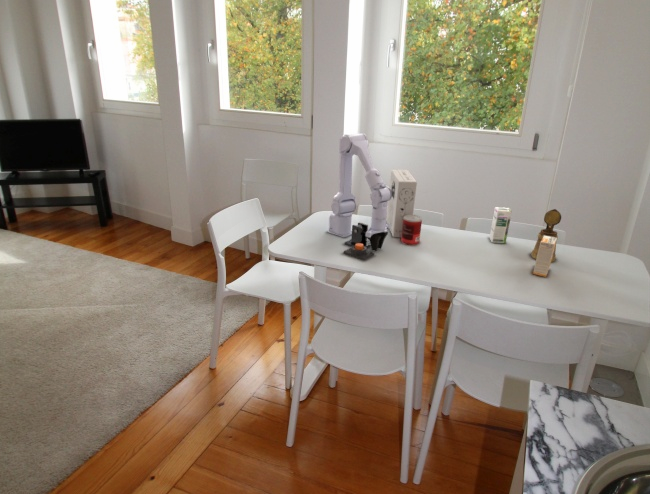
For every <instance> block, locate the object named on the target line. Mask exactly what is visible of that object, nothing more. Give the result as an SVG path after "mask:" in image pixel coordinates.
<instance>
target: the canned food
mask: <svg viewBox="0 0 650 494" xmlns="http://www.w3.org/2000/svg"><path fill="white" fill-rule="evenodd" d="M422 222H423V218H422V216H420V215H417V214H413V215H405V216H404V218H403V227H402V236H401V237H400V241H401V243H402V244H404V245H408V246H415V245H418V244H419V243H420V238H421V231H422V224H423V223H422Z"/></svg>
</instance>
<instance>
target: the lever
mask: <svg viewBox="0 0 650 494" xmlns="http://www.w3.org/2000/svg"><path fill="white" fill-rule="evenodd" d="M357 226H359V227H362V234H363V235H364V236H365V237H366V232H365V231H364V229H365V228H364V227H363V226H361V225H358V224H357ZM367 240H369V238H368V237H367ZM378 245H379V243H378Z"/></svg>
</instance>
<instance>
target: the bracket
mask: <svg viewBox="0 0 650 494" xmlns="http://www.w3.org/2000/svg"><path fill="white" fill-rule="evenodd" d="M358 225H361V226H363V227H364V228H365V229H364V231H365V232H367V231H368V230H369V225H368V224H365V223H362V222H360V221H359V222H357V225H356V224H351V231H352V234H351V239H349V240H347V241H345V242H344V245H345V246H348V247H350V248H351V247H352V246H354V245H355V244H357V243H361V244H363V246H365V247H367V249H368V248H371V244H370V241H369V240H368V238H367V237H365V236H364V235H363V234H362V227H359V226H358Z"/></svg>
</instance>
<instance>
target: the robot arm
mask: <svg viewBox="0 0 650 494" xmlns="http://www.w3.org/2000/svg"><path fill="white" fill-rule="evenodd" d="M369 144H370V142H369V140H368V137H367V134H366V133H363V132H360V133H353V134H351V133H350V134H343V135H342V136H341V137H340V138H339V151H338V152H339V159H338V160H339V165H338V192H337V193H336V194H335V195H334V196H333V198H332V203H331V214H330V215H329V219H328V222H329V223H328V231H327V233H329V234H332V235H335V236H338V237H341V238H347V237H349V236H352V219H353V217H352V216H353V215H354V212H356V210H357V200H356V195H354V194H353V193H352V181H353V156H356V157H358V159H359V161H360V163H361V165H362V166H363V168H364V171H365V176H364V178H365V180H366V182H367V184H368V187H369V189H370V191H371V192H370V194H369V196H370V200H371V206H372V209H371V211H372V212H371V221H370V222H371V223H370V227H368V231H367V232H366V237H368V238H369V239H368V238H367V239H368V241H369V242H370V244H371V246H370V248H371V251H374V252H376V251H378V249H382V247H383V245H384V241H385V239H386V237H387V236H388V235H389V230H390V224H388V223H387V221H386V220H387V209H388V201H389V200H390V199H391V197H392V192H391V189H390V186H388V185H387V184H386V183H385V181H384V179H383V177H382V175H381V173H380V171H379V170H378V169H376V168H375V166H374V162H373V159H372V157H371V154H370V150H369ZM378 243H379V245H378Z"/></svg>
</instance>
